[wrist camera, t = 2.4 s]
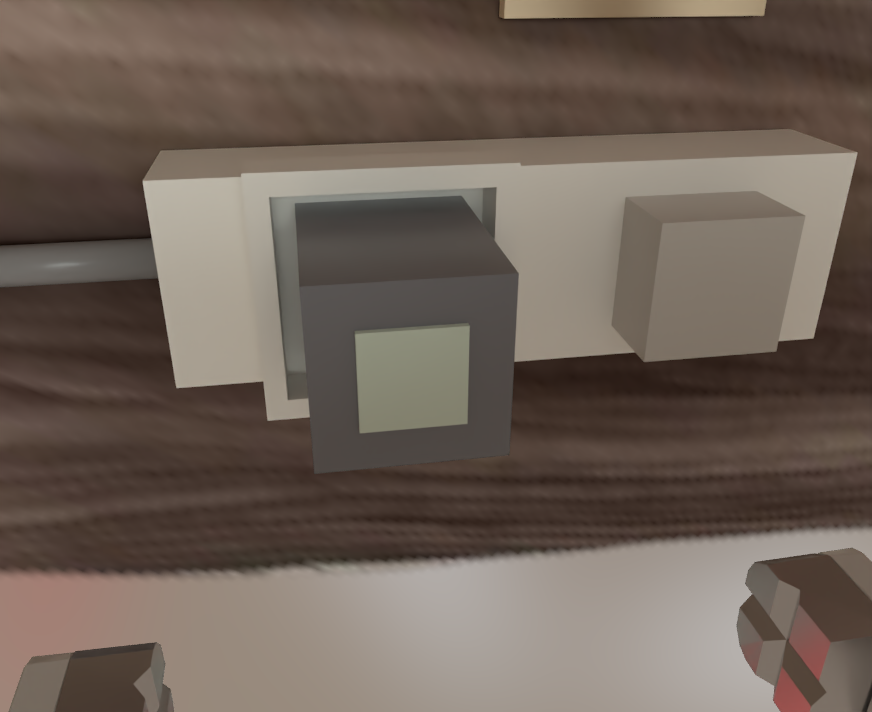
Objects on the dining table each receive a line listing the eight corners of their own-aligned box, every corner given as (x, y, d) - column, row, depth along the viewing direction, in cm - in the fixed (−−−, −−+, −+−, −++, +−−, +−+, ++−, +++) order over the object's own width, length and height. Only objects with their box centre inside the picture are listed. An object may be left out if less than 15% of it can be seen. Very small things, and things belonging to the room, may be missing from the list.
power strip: (793, 114, 26) (922, 156, 21) (755, 308, 29) (858, 387, 24) (-129, 143, 22) (-259, 205, 17) (-60, 366, 25) (-151, 477, 20)
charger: (461, 195, 22) (520, 275, 17) (459, 343, 24) (510, 458, 19) (295, 202, 21) (299, 289, 16) (306, 354, 23) (314, 477, 18)
